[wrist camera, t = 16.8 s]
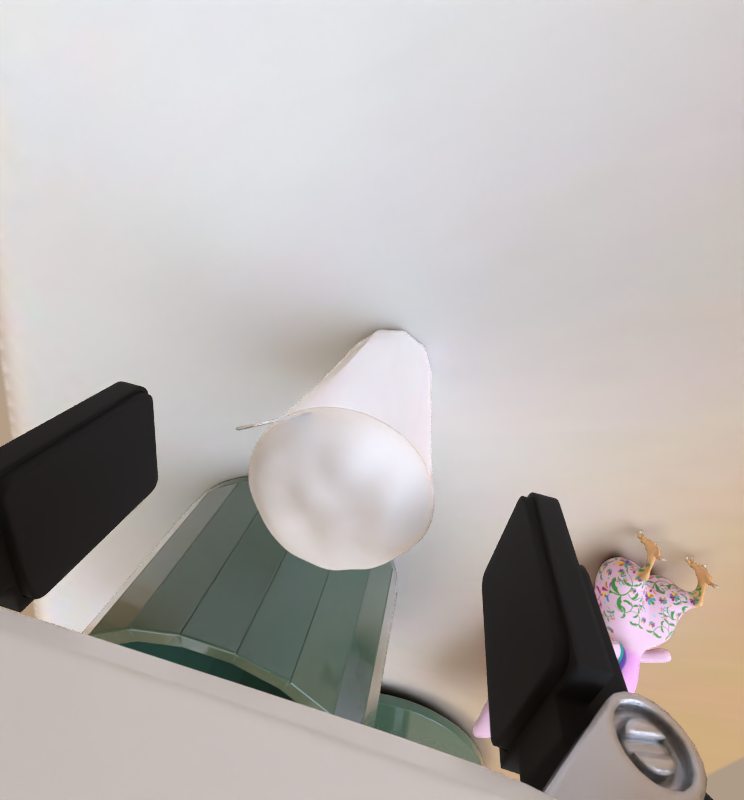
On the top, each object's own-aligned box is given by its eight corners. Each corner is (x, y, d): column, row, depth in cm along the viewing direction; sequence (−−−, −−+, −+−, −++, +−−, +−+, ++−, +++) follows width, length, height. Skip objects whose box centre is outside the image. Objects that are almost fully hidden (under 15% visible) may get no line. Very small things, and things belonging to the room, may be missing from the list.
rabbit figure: (594, 493, 19) (436, 686, 24) (661, 589, 14) (438, 813, 19) (711, 553, 20) (529, 732, 25) (823, 672, 14) (559, 871, 19)
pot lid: (308, 656, 28) (266, 782, 22) (511, 722, 27) (523, 874, 21) (290, 749, 34) (254, 864, 29) (452, 805, 33) (449, 937, 27)
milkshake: (425, 275, 15) (368, 400, 6) (459, 404, 17) (451, 629, 8) (314, 308, 17) (145, 447, 8) (357, 423, 19) (261, 634, 10)
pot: (182, 447, 21) (33, 587, 14) (421, 516, 20) (395, 707, 13) (189, 600, 28) (87, 753, 20) (373, 659, 26) (337, 844, 19)
